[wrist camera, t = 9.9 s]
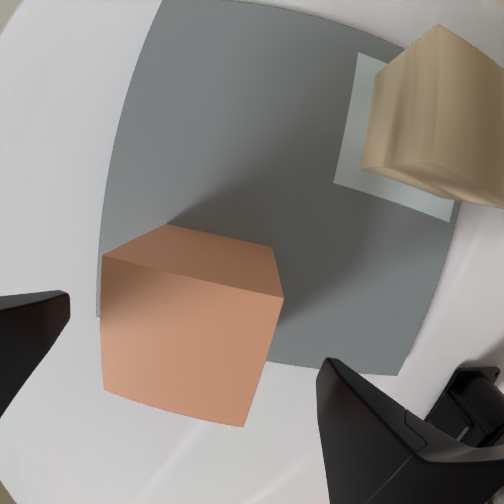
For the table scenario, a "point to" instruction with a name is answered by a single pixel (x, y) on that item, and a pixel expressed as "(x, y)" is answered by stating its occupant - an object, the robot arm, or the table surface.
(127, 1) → the table surface
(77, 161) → the table surface
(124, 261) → the terracotta block
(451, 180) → the maple block
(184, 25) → the board
